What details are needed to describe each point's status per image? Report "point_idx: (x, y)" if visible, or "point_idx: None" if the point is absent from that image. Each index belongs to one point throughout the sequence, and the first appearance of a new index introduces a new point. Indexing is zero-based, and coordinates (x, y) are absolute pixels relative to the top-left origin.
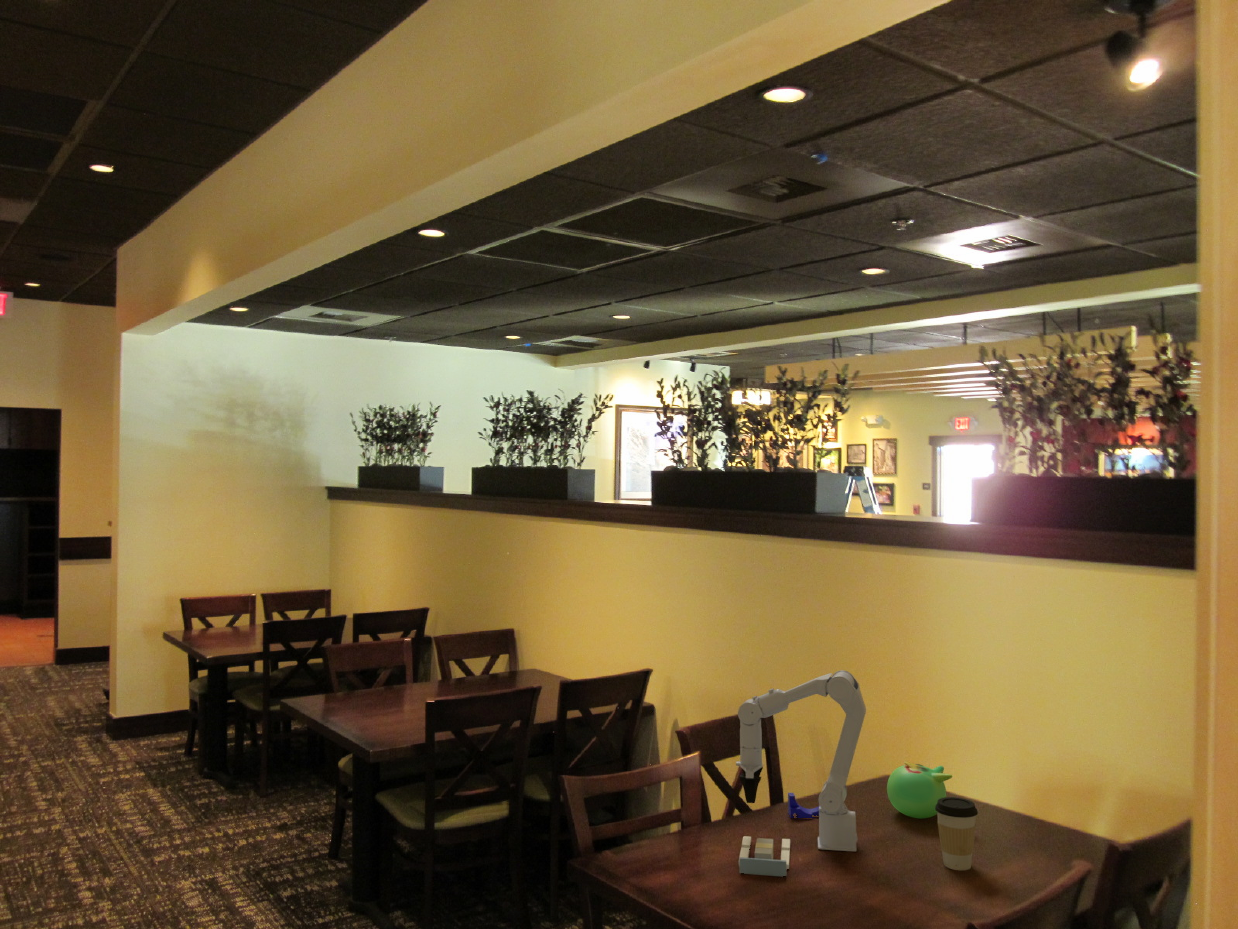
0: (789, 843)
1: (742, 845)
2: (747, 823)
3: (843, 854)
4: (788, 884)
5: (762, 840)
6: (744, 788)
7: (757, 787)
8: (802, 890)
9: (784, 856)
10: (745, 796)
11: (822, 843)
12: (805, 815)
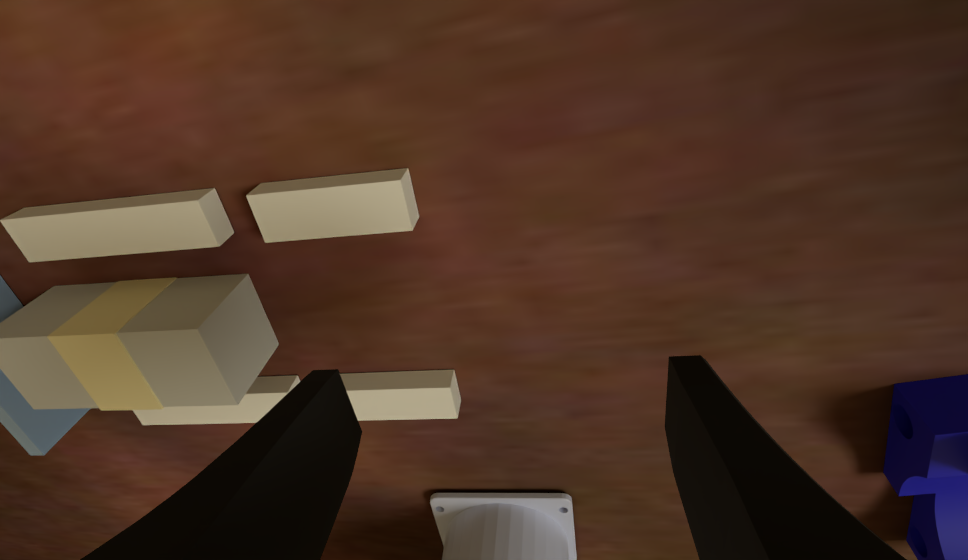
0: (394, 418)
1: (249, 198)
2: (800, 133)
3: (424, 549)
4: None
5: (176, 359)
6: (152, 521)
7: (687, 510)
8: (20, 449)
9: (218, 407)
10: (260, 419)
11: (461, 519)
12: (899, 464)
